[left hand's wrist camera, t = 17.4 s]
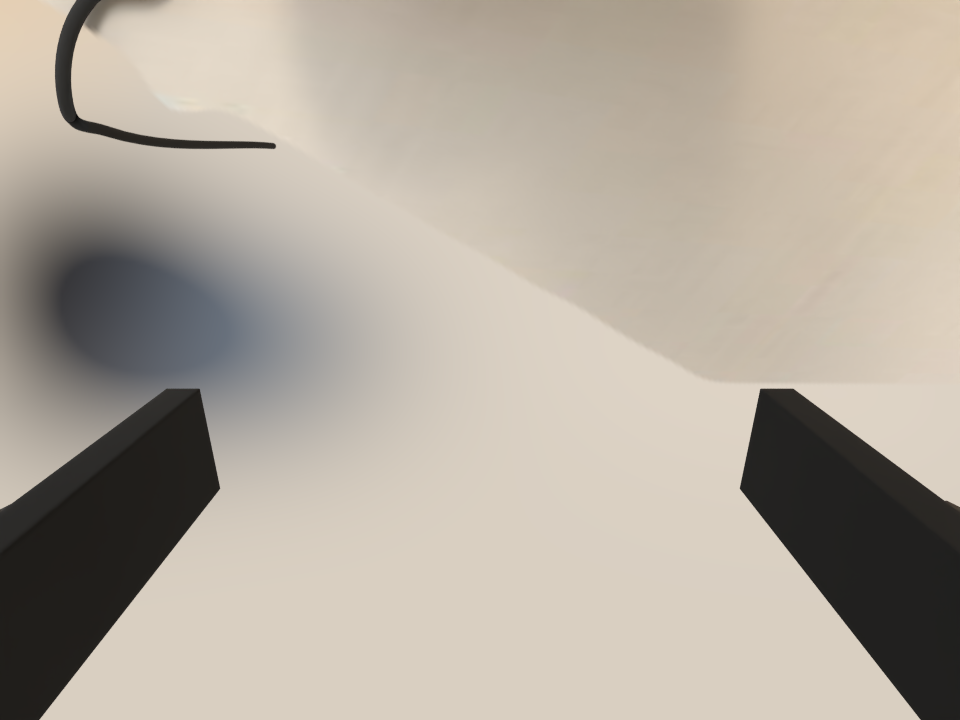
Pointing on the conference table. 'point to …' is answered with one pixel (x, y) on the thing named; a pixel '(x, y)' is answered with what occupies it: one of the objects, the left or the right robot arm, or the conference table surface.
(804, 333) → the conference table surface
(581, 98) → the conference table surface
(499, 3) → the conference table surface
